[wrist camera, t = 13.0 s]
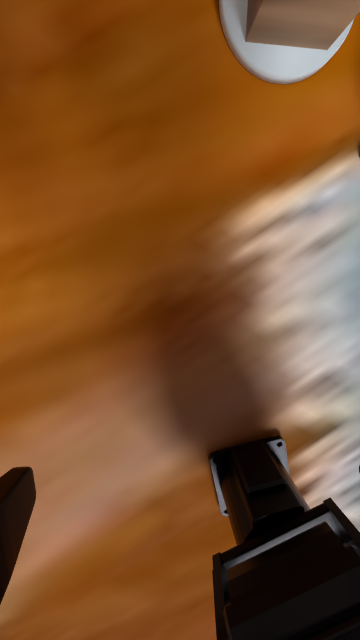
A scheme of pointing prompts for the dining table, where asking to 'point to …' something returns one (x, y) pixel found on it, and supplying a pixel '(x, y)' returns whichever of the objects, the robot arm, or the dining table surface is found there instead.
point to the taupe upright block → (299, 21)
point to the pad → (271, 49)
